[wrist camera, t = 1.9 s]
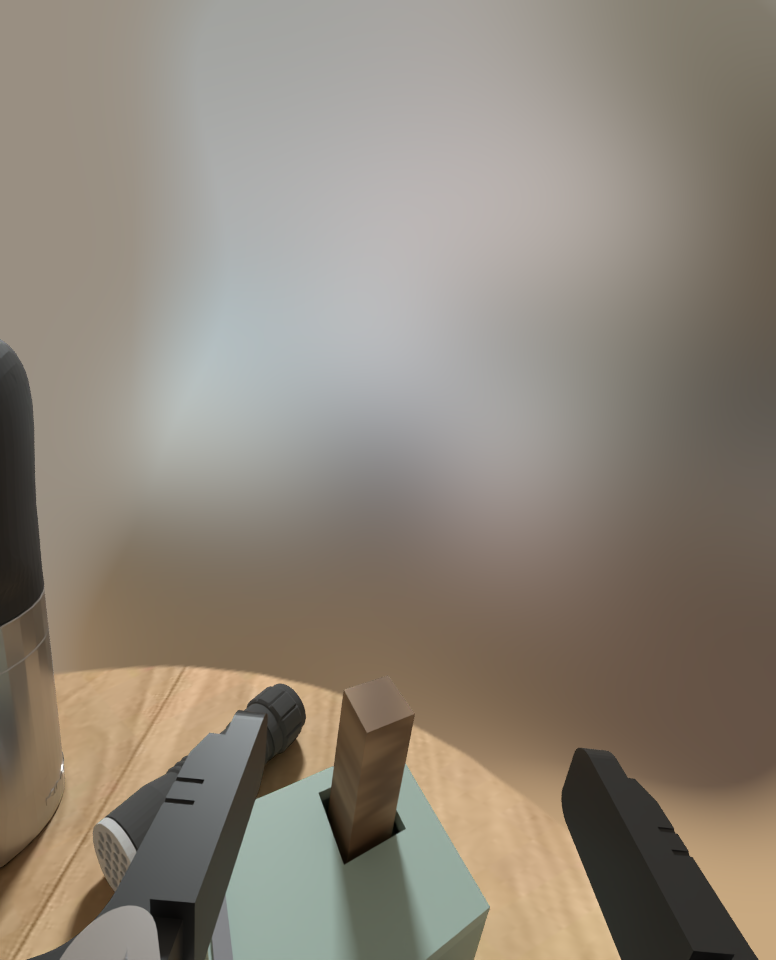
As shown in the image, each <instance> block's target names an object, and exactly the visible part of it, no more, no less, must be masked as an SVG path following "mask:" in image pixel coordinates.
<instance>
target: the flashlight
mask: <svg viewBox="0 0 776 960" xmlns="http://www.w3.org/2000/svg"><path fill="white" fill-rule="evenodd" d="M244 711H251V712H260V713H267V714H268V724H267V739H266V755H265V764H266V763H267V761H269V760H271V759H272V758H273V757H274V756H275V755H276V754H278V753H282V752H283V751H285V750H286V748H287V747H288V746H289V745H290V744H291V743H292V742H293V741H294V740H295V739H296V738H297V737H298V735H299V733H300V732H301V729H302V726H303V725H304V723H305V719H306V714H305V709H304V705H303V703H302V701H301V699H300V698H299V696H298V695H297V693H296V692H295V691H294V690H293V689H292V688H290V687H289V686H287V685H285V684H276V685H274V686H273V687H267V688H266V689H265V690H263V691H262V692H261V693H260V694H258V695H257V696H256V697H255V698H254V699H252V700H251V701H250V702H249V703H248V705H247V709H245V710H244ZM230 724H231V722H230V723H229V724H228V726H227V727H226V729H225V730H224V731H222V732H221V733H220V734H224V735H225V734H226V732H227V730H228V728H229V726H230ZM187 757H188V756H185V757H183V758H182V760H181V761H180V762H177V763H176V764H175V766H174V767H172V768H170V769H169V770H168V771H167V773H166V774H165V775H163V776H161V777H160V778H158V779H156V780H154V781H152V782H150V783H148V784H146V785H145V786H143V787H142V788H140V789H139V790H138V791H137V792H136V793H134V794H133V795H132V796H131V797H129V798H128V799H127V800H126V801H124V802H123V803H122V804H121V805H120V806H118V807H117V808H116V809H115V810H113V811H112V812H111V813H110V814H109V815H107V816H106V817H105V818H104V819H102V820H101V821H100V822H99V823H97V824H96V825H95V826H94V829H93V842H94V848H95V852H96V855H97V858H98V861H99V864H100V867H101V869H102V871H103V874H104V876H105V878H106V880H107V882H108V883H109V885H110V886H111V888H112V889H113V890H114V892H115V891H116V890H117V888H118V886H119V884H120V882H121V880H122V879H123V877H124V875H125V873H126V871H127V869H128V867H129V865H130V864H131V862H132V860H133V858H134V856H135V854H136V852H137V850H138V849H139V847H140V845H141V843H142V841H143V839H144V837H145V836H146V834H147V832H148V830H149V828H150V826H151V824H152V822H153V821H154V819H155V817H156V815H157V813H158V811H159V809H160V807H161V806H162V804H163V803H164V802H165V799H166V796H167V794H168V793H169V791H170V789H171V787H172V785H173V783H174V782H175V781H176V779H177V776H178V774H179V772H180V770H181V768H182V766H183V764H184V763H185V761H186V759H187ZM265 764H264V765H265Z"/></svg>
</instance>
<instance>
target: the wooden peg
mask: <svg viewBox="0 0 776 960" xmlns="http://www.w3.org/2000/svg"><path fill="white" fill-rule="evenodd" d="M414 715H415V713H414V712H413V710H412V709H411V708H410V706H409V705H408V703H407V702H406V700H405V699H404V697H403V696H402V694H401V693H400V692H399V690H398V689H397V687H396V686H395V684H394V683H393V681H392V680H391V679H390V678H389V676H385V677H381V678H378V679H375V680H372V681H369V682H366V683H363V684H360V685H357V686H354V687H351V688H348V689H345V690H344V693H343V700H342V708H341V716H340V723H339V731H338V739H337V746H336V754H335V762H334V769H333V777H332V785H331V792H330V800H329V807H328V815H327V819H328V821H329V824H330V827H331V830H332V833H333V836H334V838H335V841H336V844H337V847H338V850H339V853H340V855H341V858H342V861H343V864H344V865H345V864H346V863H348V862H350V861H352V860H353V859H355V858H357V857H358V856H360V855H362V854H364V853H365V852H367V851H369V850H371V849H372V848H374V847H376V846H377V845H379V844H381V843H383V842H384V841H386V840H388V839H389V838H391V834H392V829H393V824H394V819H395V814H396V809H397V803H398V798H399V793H400V788H401V783H402V778H403V772H404V767H405V762H406V757H407V752H408V747H409V741H410V736H411V731H412V726H413V721H414Z"/></svg>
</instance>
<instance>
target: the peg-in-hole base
mask: <svg viewBox="0 0 776 960" xmlns="http://www.w3.org/2000/svg"><path fill="white" fill-rule="evenodd" d="M333 769H334V766H333V767H330V768H328V769H326V770H323V771H321V772H319V773H316V774H314V775H312V776H309V777H307V778H305V779H302V780H300V781H298V782H295V783H293V784H291V785H288V786H286V787H284V788H281V789H279V790H277V791H274V792H272V793H270V794H267V795H265V796H263V797H260V798H258V799H256V800H255V803H254V806H253V809H252V812H251V816H250V819H249V822H248V825H247V828H246V831H245V834H244V838H243V841H242V844H241V847H240V850H239V853H238V856H237V860H236V863H235V866H234V869H233V872H232V875H231V879H230V882H229V885H228V888H227V891H226V894H225V897H224V901H223V904H222V907H221V910H220V913H219V916H218V920H217V923H216V926H215V929H214V932H213V935H212V938H211V942H210V945H209V948H208V951H207V954H206V957H205V960H474V957H475V954H476V951H477V947H478V944H479V941H480V938H481V934H482V931H483V928H484V925H485V921H486V918H487V915H488V912H489V908H490V906H489V904H488V903H487V901H486V899H485V898H484V896H483V894H482V893H481V891H480V889H479V887H478V886H477V884H476V882H475V881H474V879H473V877H472V876H471V874H470V872H469V870H468V869H467V867H466V865H465V864H464V862H463V860H462V859H461V857H460V855H459V853H458V852H457V850H456V848H455V847H454V845H453V843H452V842H451V840H450V838H449V836H448V835H447V833H446V831H445V830H444V828H443V826H442V825H441V823H440V821H439V819H438V818H437V816H436V814H435V813H434V811H433V809H432V808H431V806H430V804H429V802H428V801H427V799H426V797H425V796H424V794H423V792H422V791H421V789H420V787H419V785H418V784H417V782H416V780H415V779H414V777H413V775H412V774H411V772H410V770H409V768H408V767H407V765H406V763H405V767H404V772H403V778H402V783H401V788H400V793H399V798H398V803H397V809H396V814H395V819H394V824H393V829H392V834H391V838H389V839H388V840H386V841H384V842H383V843H381V844H379V845H377V846H376V847H374V848H372V849H371V850H369V851H367V852H365V853H364V854H362V855H360V856H358V857H357V858H355V859H353V860H352V861H350V862H348V863H346V864H345V865H344V864H343V861H342V858H341V855H340V853H339V850H338V847H337V844H336V841H335V838H334V836H333V833H332V830H331V827H330V824H329V821H328V819H327V815H328V807H329V800H330V792H331V785H332V777H333Z"/></svg>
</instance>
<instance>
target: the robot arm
mask: <svg viewBox="0 0 776 960" xmlns="http://www.w3.org/2000/svg"><path fill="white" fill-rule="evenodd" d="M33 421H34V420H33V405H32V399H31V393H30V387H29V382H28V378H27V375H26V372H25V369H24V367H23V365H22V363H21V361H20V360H19V358H18V356H17V355H16V353H15V352H14V351H13V350H12V348H11V347H10V346H9V345H8V344H6V343H5V342H3V341H2V340H1V339H0V868H1V867H2V866H4V865H5V864H6V863H7V862H9V861H10V860H11V859H12V858H14V857H15V856H16V855H17V854H18V853H20V852H21V851H22V850H23V849H24V848H25V847H26V846H27V845H28V844H29V843H30V842H31V841H32V840H33V839H34V838H35V837H36V836H37V835H38V834H39V833H40V832H41V830H42V829H43V828H44V827H45V825H46V824H47V823H48V821H49V820H50V819H51V817H52V816H53V814H54V812H55V810H56V809H57V807H58V805H59V803H60V801H61V798H62V795H63V792H64V785H65V774H64V758H63V752H62V746H61V735H60V726H59V717H58V708H57V699H56V690H55V681H54V672H53V664H52V655H51V645H50V636H49V627H48V618H47V609H46V600H45V591H44V580H43V572H42V563H41V551H40V539H39V528H38V517H37V507H36V490H35V457H34V456H35V455H34V422H33ZM267 724H268V714H267V713H260V712H251V711H242V710H238V711H237V712H236V713H235V715H234V717H233V719H232V721H231V724H230V726H229V728H228V730H227V732H226V734H225V735H224V734H214V733H209V734H208V735H207V736H206V737H205V738H204V739H203V740H202V741H201V742H200V743H199V744H198V745H197V746H196V747H195V748H194V749H193V750H192V751H191V752H190V753H189V755H188V757H187V759H186V761H185V763H184V764H183V766H182V768H181V770H180V772H179V774H178V776H177V779H176V781H175V782H174V783H173V785H172V787H171V789H170V791H169V793H168V794H167V796H166V799H165V802H164V803H163V804H162V806H161V807H160V809H159V811H158V813H157V815H156V817H155V819H154V821H153V822H152V824H151V826H150V828H149V830H148V832H147V834H146V836H145V837H144V839H143V841H142V843H141V845H140V847H139V849H138V850H137V852H136V854H135V856H134V858H133V860H132V862H131V864H130V865H129V867H128V869H127V871H126V873H125V875H124V877H123V879H122V880H121V882H120V884H119V886H118V888H117V890H116V891H115V893H114V895H113V896H112V898H111V900H110V901H109V902H108V904H107V905H106V906H105V908H104V909H103V910H102V911H101V913H100V914H99V915H98V916H97V917H96V918H95V919H94V920H93V921H92V922H91V923H90V924H89V925H88V926H87V927H86V928H85V929H84V930H83V931H81V932H80V933H79V934H78V935H77V936H75V937H74V938H72V939H71V940H69V941H68V942H67V943H65V944H63V945H62V946H60V947H58V948H56V949H54V950H52V951H50V952H47V953H45V954H42V955H39V956H36V957H33V958H30V959H27V960H205V957H206V954H207V951H208V948H209V945H210V942H211V938H212V935H213V932H214V929H215V926H216V923H217V920H218V916H219V913H220V910H221V907H222V904H223V901H224V897H225V894H226V891H227V888H228V885H229V882H230V879H231V875H232V872H233V869H234V866H235V863H236V860H237V856H238V853H239V850H240V847H241V844H242V841H243V838H244V834H245V831H246V828H247V825H248V822H249V819H250V816H251V812H252V809H253V806H254V803H255V800H256V797H257V793H258V790H259V787H260V783H261V779H262V775H263V770H264V764H265V755H266V739H267ZM562 809H563V814H564V818H565V821H566V824H567V826H568V829H569V831H570V834H571V836H572V839H573V841H574V844H575V846H576V849H577V851H578V854H579V856H580V859H581V861H582V863H583V866H584V868H585V871H586V873H587V876H588V878H589V881H590V883H591V886H592V888H593V891H594V893H595V896H596V898H597V901H598V903H599V906H600V908H601V911H602V913H603V916H604V918H605V920H606V923H607V925H608V928H609V930H610V933H611V935H612V938H613V940H614V943H615V945H616V948H617V950H618V953H619V955H620V958H621V960H758V958H757V957H756V955H755V954H754V952H753V951H752V949H751V948H750V946H749V945H748V943H747V942H746V940H745V938H744V937H743V936H742V934H741V932H740V931H739V929H738V928H737V926H736V924H735V923H734V921H733V920H732V918H731V917H730V915H729V914H728V912H727V910H726V909H725V907H724V906H723V904H722V903H721V901H720V900H719V898H718V896H717V895H716V893H715V892H714V890H713V889H712V887H711V885H710V884H709V882H708V881H707V879H706V878H705V876H704V874H703V873H702V871H701V870H700V868H699V867H698V865H697V864H696V862H695V860H694V859H693V857H690V856H689V853H688V850H687V848H686V846H685V845H684V843H683V842H682V840H681V839H680V837H679V835H678V834H675V832H674V828H673V826H672V824H671V823H670V821H669V820H668V818H667V817H666V815H665V814H664V812H663V810H662V809H661V807H660V806H659V804H658V803H657V801H656V800H655V799H654V798H653V797H652V796H651V795H650V794H649V793H648V792H647V791H646V790H645V789H644V788H643V787H642V786H641V785H640V784H639V783H638V782H637V781H636V780H635V779H631V778H627V776H626V774H625V772H624V771H623V769H622V767H621V766H620V764H619V763H618V761H617V759H616V758H615V756H614V755H613V754H612V753H610V752H609V751H604V750H594V749H585V748H578V749H576V751H575V753H574V756H573V759H572V762H571V765H570V768H569V771H568V774H567V777H566V780H565V783H564V786H563V790H562Z"/></svg>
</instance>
